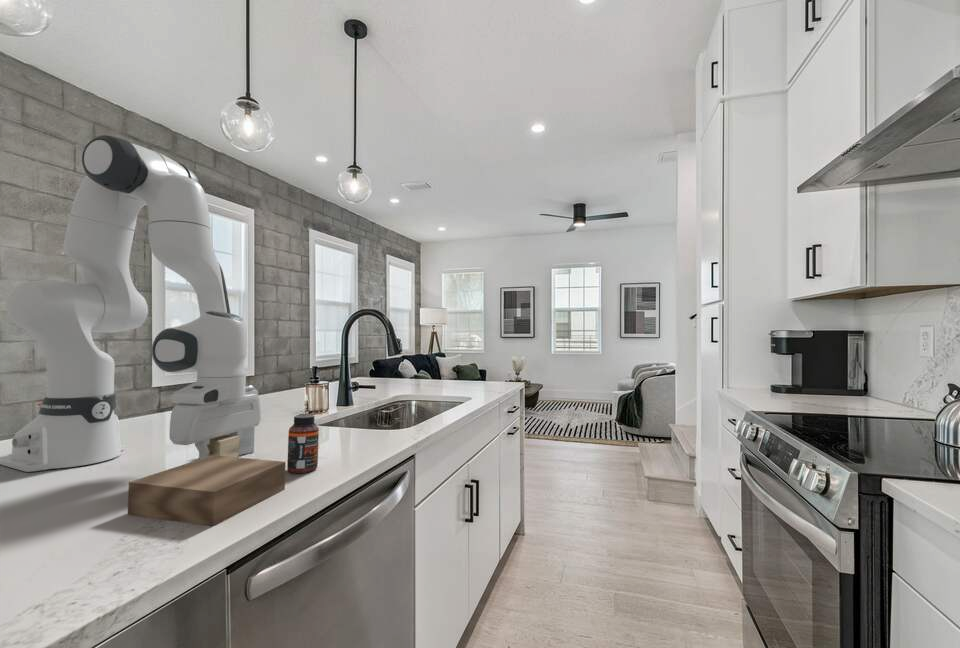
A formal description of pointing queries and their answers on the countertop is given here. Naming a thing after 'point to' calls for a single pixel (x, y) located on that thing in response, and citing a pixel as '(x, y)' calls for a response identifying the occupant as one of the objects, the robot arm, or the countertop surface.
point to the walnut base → (206, 489)
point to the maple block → (224, 446)
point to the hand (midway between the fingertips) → (219, 456)
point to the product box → (246, 441)
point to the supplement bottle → (303, 444)
